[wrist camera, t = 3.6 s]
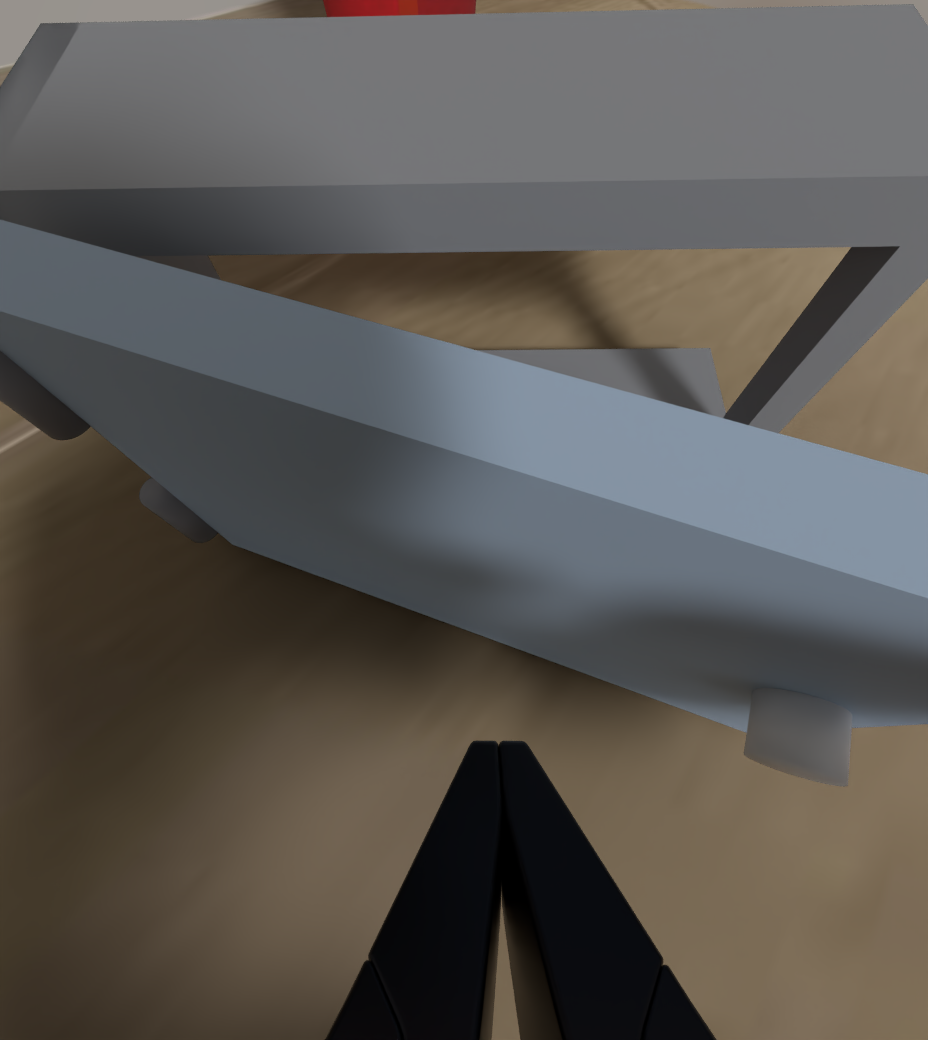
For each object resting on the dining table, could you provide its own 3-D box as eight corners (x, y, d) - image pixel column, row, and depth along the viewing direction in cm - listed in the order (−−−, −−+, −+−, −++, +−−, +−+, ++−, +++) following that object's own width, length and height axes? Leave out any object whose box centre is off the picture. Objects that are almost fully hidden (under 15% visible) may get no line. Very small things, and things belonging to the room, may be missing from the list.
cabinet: (723, 490, 17) (1027, 174, 8) (226, 491, 18) (-67, 191, 8) (696, 370, 19) (912, 4, 10) (251, 374, 20) (40, 23, 10)
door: (741, 779, 13) (1309, 850, 4) (184, 568, 16) (-198, 332, 7) (755, 678, 14) (1240, 560, 5) (229, 494, 17) (-54, 204, 8)
